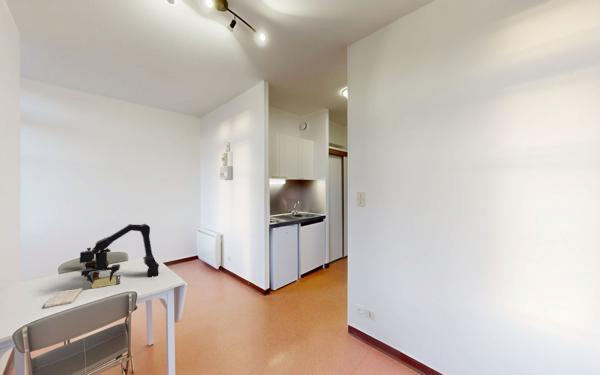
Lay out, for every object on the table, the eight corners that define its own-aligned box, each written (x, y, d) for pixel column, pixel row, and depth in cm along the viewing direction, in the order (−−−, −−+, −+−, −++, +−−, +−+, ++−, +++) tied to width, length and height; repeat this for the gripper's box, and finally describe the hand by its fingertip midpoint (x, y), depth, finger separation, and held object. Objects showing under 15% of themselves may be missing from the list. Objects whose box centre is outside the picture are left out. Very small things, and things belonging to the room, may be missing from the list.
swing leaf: (120, 282, 155) (120, 274, 155) (120, 283, 152) (120, 276, 152) (92, 287, 147) (92, 279, 147) (91, 288, 145) (91, 280, 145)
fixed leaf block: (117, 281, 156) (117, 274, 156) (115, 283, 153) (115, 276, 153) (94, 285, 151) (94, 278, 151) (92, 287, 147) (92, 280, 147)
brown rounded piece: (90, 282, 155) (90, 264, 155) (81, 281, 157) (81, 263, 156) (104, 277, 164) (103, 259, 163) (95, 275, 165) (94, 258, 165)
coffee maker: (101, 268, 179) (101, 246, 178) (88, 273, 170) (88, 250, 170) (87, 267, 182) (87, 245, 182) (74, 271, 173) (74, 248, 173)
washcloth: (83, 290, 144) (83, 286, 144) (73, 303, 129) (73, 298, 129) (57, 295, 138) (57, 290, 138) (43, 309, 123) (43, 304, 122)
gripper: (121, 253, 159) (121, 275, 159) (86, 258, 149) (86, 280, 149) (118, 258, 149) (118, 281, 149) (80, 263, 139) (81, 287, 140)
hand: (101, 282), depth 147 cm, fingers open, 9 cm apart
